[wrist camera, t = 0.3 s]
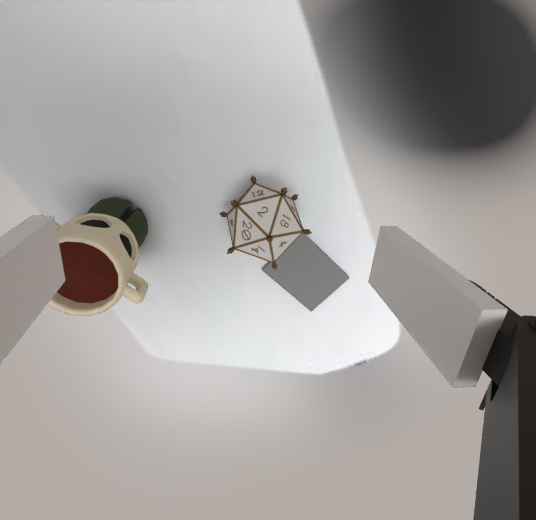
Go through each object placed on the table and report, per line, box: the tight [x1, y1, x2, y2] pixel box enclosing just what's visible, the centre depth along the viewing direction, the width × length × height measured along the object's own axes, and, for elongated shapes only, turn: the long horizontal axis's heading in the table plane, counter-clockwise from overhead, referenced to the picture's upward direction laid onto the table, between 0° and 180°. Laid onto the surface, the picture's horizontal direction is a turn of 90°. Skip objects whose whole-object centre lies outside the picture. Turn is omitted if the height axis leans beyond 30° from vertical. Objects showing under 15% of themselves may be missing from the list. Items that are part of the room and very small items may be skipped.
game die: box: [219, 175, 311, 271], centre depth 36 cm, size 9×8×10 cm
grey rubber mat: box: [262, 233, 349, 311], centre depth 45 cm, size 9×7×1 cm
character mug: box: [39, 197, 148, 316], centre depth 34 cm, size 11×7×13 cm, turn 47°
